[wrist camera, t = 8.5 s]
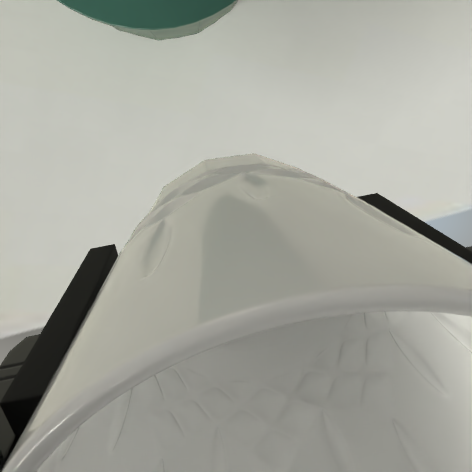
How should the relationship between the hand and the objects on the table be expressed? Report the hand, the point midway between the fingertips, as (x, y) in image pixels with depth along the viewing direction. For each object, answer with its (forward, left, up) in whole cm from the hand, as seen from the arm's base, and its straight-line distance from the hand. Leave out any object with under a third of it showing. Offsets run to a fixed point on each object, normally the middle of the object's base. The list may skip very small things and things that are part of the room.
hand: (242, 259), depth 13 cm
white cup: (0, 0, -1) cm, 1 cm away
